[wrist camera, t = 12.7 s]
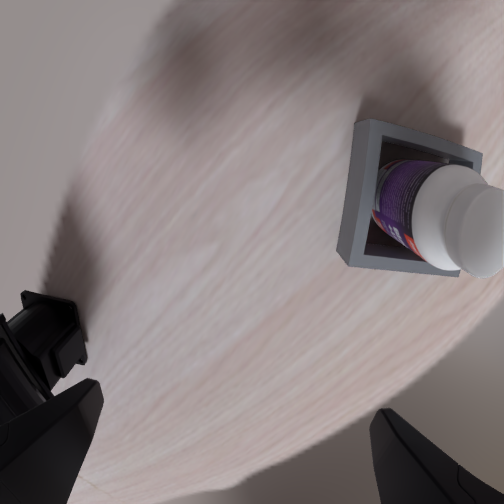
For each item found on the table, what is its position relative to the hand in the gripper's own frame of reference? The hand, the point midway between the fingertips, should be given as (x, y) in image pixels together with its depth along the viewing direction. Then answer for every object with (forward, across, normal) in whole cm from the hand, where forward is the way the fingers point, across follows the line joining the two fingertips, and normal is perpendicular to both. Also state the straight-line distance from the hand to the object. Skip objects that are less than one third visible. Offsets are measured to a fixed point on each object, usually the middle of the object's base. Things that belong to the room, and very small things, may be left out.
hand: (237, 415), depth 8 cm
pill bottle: (+13, -10, -6) cm, 18 cm away
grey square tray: (+13, -10, -6) cm, 17 cm away
